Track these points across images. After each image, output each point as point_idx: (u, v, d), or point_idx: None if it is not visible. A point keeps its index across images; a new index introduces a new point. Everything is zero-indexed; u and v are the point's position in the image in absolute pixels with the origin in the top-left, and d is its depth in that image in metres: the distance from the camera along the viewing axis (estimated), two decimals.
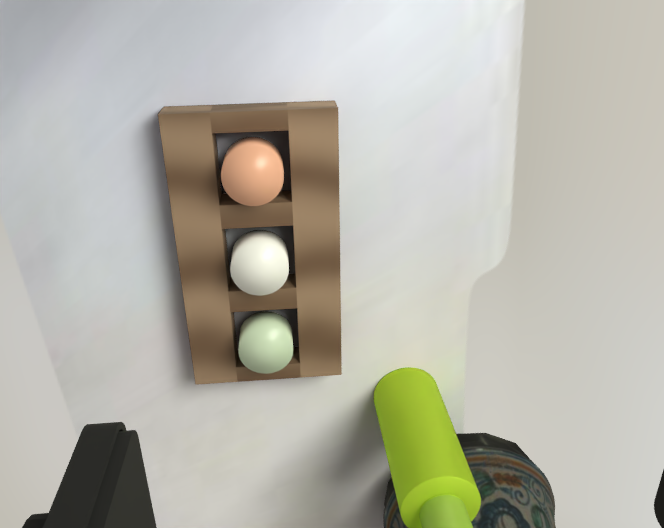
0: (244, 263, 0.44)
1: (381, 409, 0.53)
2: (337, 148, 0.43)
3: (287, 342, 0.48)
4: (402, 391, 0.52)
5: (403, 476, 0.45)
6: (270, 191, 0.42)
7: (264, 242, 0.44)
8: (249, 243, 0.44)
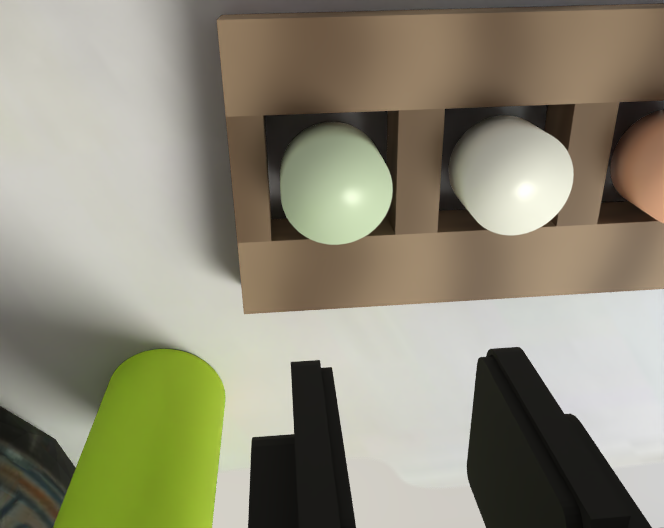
0: (537, 158, 0.23)
1: (174, 391, 0.28)
2: None
3: (353, 234, 0.24)
4: (215, 418, 0.29)
5: None
6: (661, 205, 0.24)
7: (566, 191, 0.24)
8: (570, 165, 0.24)
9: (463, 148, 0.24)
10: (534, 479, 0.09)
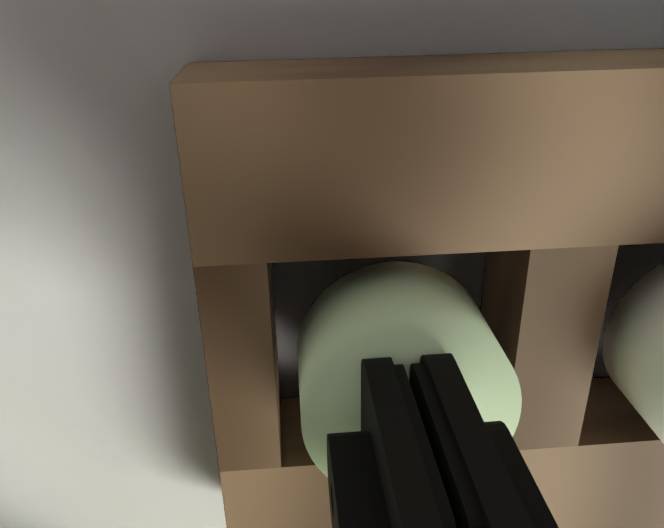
0: None
1: None
2: None
3: None
4: None
5: None
6: None
7: None
8: None
9: (646, 315, 0.13)
10: (449, 489, 0.09)
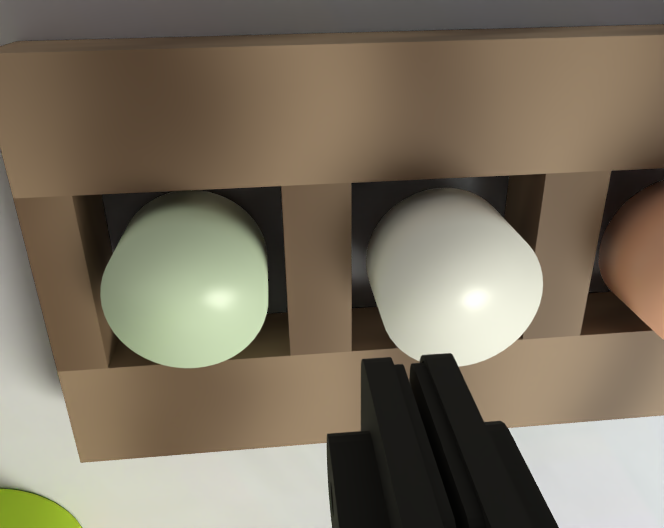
0: (487, 261, 0.15)
1: None
2: None
3: (216, 354, 0.17)
4: None
5: None
6: None
7: (533, 304, 0.16)
8: (538, 268, 0.16)
9: (381, 239, 0.17)
10: (449, 489, 0.09)
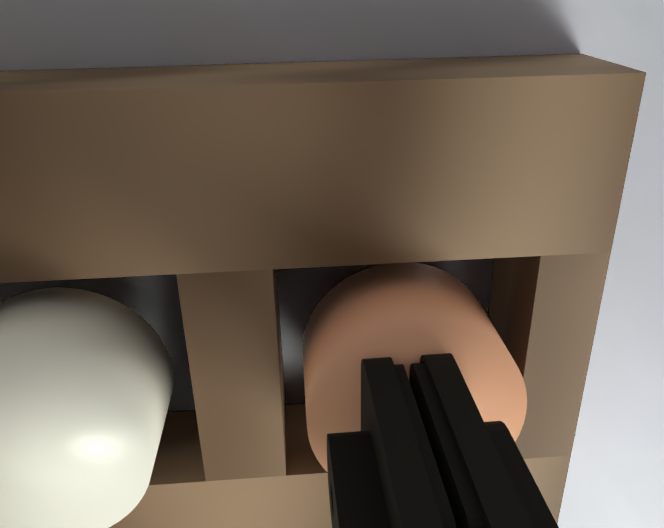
0: (50, 410, 0.11)
1: None
2: None
3: None
4: None
5: None
6: None
7: (154, 460, 0.12)
8: (143, 415, 0.11)
9: None
10: (449, 489, 0.09)
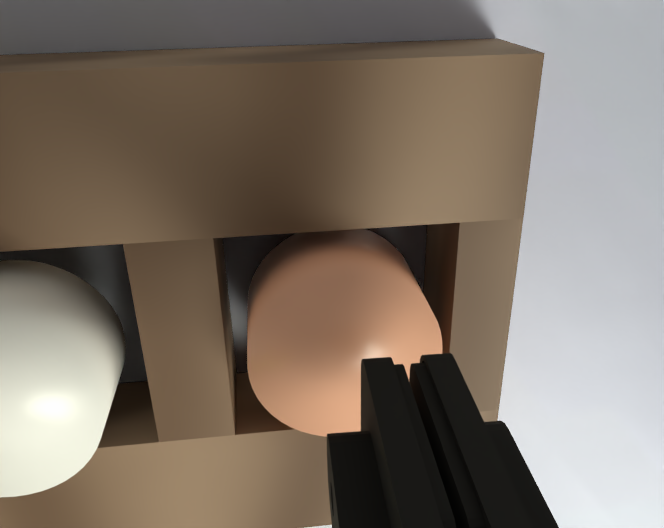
0: (5, 369, 0.11)
1: None
2: None
3: None
4: None
5: None
6: (297, 407, 0.14)
7: (105, 416, 0.12)
8: (93, 373, 0.12)
9: None
10: (449, 489, 0.09)
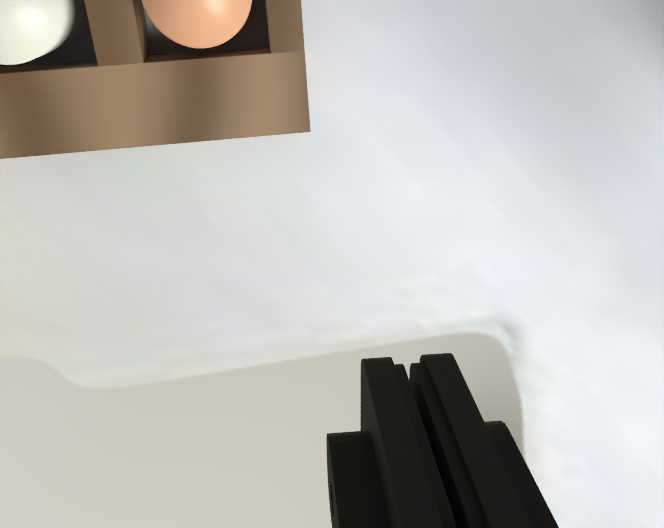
0: None
1: None
2: (246, 135, 0.27)
3: None
4: None
5: None
6: (172, 24, 0.24)
7: (60, 13, 0.23)
8: None
9: None
10: (449, 489, 0.09)
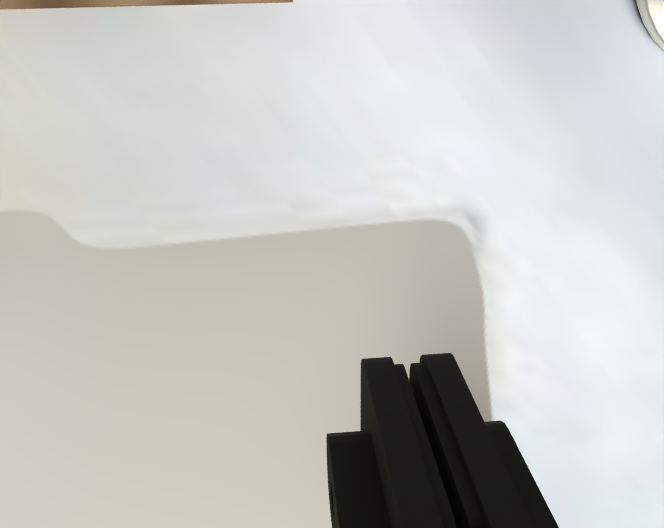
0: None
1: None
2: (236, 1, 0.31)
3: None
4: None
5: None
6: None
7: None
8: None
9: None
10: (449, 489, 0.09)
